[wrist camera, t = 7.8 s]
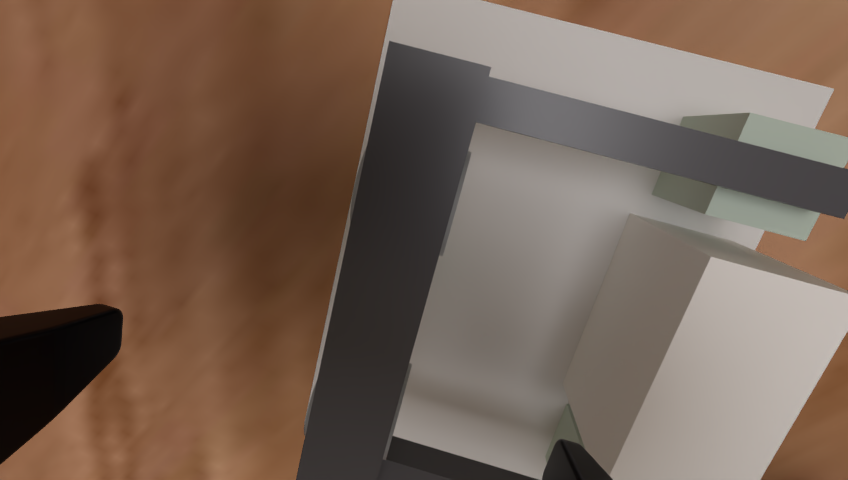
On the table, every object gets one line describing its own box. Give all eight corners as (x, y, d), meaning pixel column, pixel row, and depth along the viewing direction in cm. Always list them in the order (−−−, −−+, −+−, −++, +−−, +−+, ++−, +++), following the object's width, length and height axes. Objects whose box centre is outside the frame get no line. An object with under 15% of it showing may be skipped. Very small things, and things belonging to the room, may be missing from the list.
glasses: (830, 170, 12) (942, 182, 9) (640, 538, 16) (677, 629, 13) (405, 60, 13) (384, 39, 10) (319, 441, 16) (286, 507, 14)
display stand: (812, 91, 16) (1058, 63, 9) (616, 501, 21) (681, 672, 15) (401, -12, 17) (352, -108, 10) (311, 410, 22) (240, 533, 15)
